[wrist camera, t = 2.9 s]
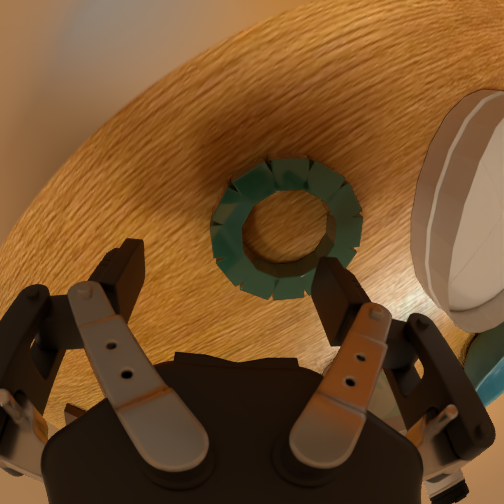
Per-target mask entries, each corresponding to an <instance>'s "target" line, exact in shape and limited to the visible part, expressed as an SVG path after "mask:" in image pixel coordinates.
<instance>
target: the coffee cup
mask: <svg viewBox="0 0 504 504" xmlns="http://www.w3.org/2000/svg"><path fill="white" fill-rule="evenodd" d="M331 364H332V363H331ZM331 364H330V365H329V366H328V367H327V368H326V369H325V371H324V372H323V376H325V375H326V373H327V371H328V369H329V367H330V366H331ZM368 410H369V411H370V412H372V413H373V414H374V415H376V416H377V417H378V418H380V419H381V420H382V421H384V422H385V423H387V424H388V425H389V426H391V427H392V428H393V429H395V430H396V431H398V432H399V433H401V434H402V435H403V436H405V437H406V433H407V430H406V427H405V424H404V422H403V419H402V416H401V413H400V411H399V408H398V405H397V403H396V400H395V398H394V395H393V393H392V390H391V388H390V385H389V383H388V380H387V378H386V376H385V374H384V373H383V371H382V370H381V372H380V375H379V378H378V381H377V384H376V387H375V390H374V392H373V395H372V398H371V401H370V403H369V406H368Z"/></svg>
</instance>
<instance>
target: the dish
mask: <svg viewBox="0 0 504 504" xmlns="http://www.w3.org/2000/svg"><path fill="white" fill-rule="evenodd" d="M411 254H412V259H413V263H414V268H415V273H416V277H417V278H418V280H419V282H420V283H421V285H422V287H423V289H424V290H425V292H426V294H427V295H428V296H429V297H430V298H431V299H432V301H433V302H434V303H435V304H436V305H437V307H439V308H440V309H442V310H443V311H445V312H446V313H447V315H448V316H449V317H450V319H451V320H452V321H453V323H454V324H455V325H456V326H457V327H459V328H460V329H462V330H463V331H465V332H467V333H481V332H484V331H486V330H489V329H492V328H494V327H496V326H498V325H499V324H501V323H502V322H504V91H495V90H485V89H482V90H480V91H477V92H475V93H473V94H470V95H468V96H465V97H464V98H463V99H462V100H461V101H460V102H459V103H458V104H457V105H456V106H455V107H454V108H453V109H452V110H451V111H450V112H449V113H448V114H447V115H446V117H445V118H444V120H443V122H442V124H441V126H440V128H439V130H438V131H437V133H436V135H435V137H434V138H433V140H432V142H431V144H430V146H429V149H428V152H427V155H426V158H425V161H424V164H423V167H422V170H421V173H420V176H419V178H418V182H417V188H416V194H415V200H414V205H413V210H412V215H411Z"/></svg>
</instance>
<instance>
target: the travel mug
mask: <svg viewBox="0 0 504 504" xmlns="http://www.w3.org/2000/svg"><path fill="white" fill-rule="evenodd" d="M423 482H424V485H425V487H426V490H427V493H428V495H429V498H430V501H432V503H431V504H452V503H454V502H455V503H456V502H459V501H460V500H462V499H463V498H465V497H466V495H467V494H468V493H469V490H468V487H467V484H466V483H465V479H464V477H463V473H462V471H461V468H460V469H459V470H457V471H456V472H454V473H453V474H451V475H449V476H448V477H446V478H445V479H443V480H441V481H440V482H437V483H430V482H427V481H426V480H425V481H423Z"/></svg>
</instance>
